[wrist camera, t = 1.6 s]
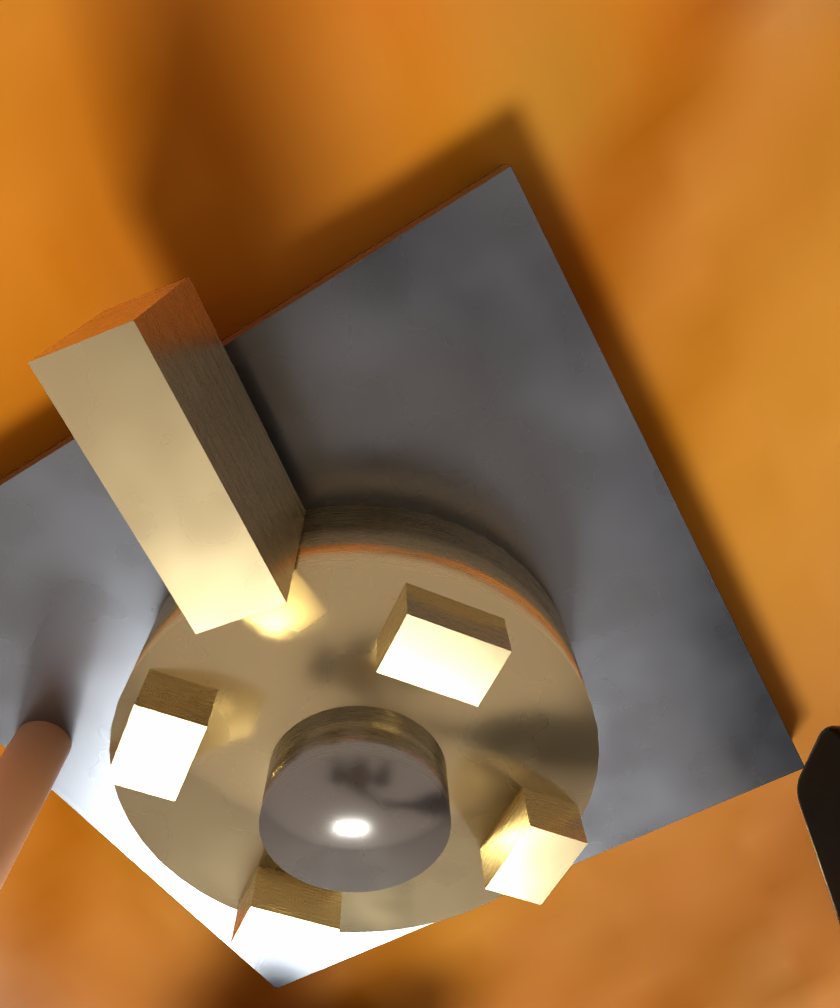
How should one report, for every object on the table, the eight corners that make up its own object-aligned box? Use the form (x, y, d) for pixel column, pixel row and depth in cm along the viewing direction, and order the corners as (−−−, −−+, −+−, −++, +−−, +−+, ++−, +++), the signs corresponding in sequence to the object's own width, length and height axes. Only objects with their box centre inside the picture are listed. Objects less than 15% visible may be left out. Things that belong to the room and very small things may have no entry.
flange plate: (504, 164, 17) (511, 166, 16) (790, 744, 25) (805, 767, 24) (-147, 571, 21) (-171, 592, 20) (279, 961, 29) (276, 988, 28)
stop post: (58, 689, 23) (-42, 863, 18) (94, 724, 24) (8, 902, 18) (17, 711, 23) (-93, 888, 18) (54, 745, 24) (-42, 926, 19)
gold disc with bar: (618, 779, 24) (666, 917, 20) (260, 884, 25) (235, 1033, 21) (409, 185, 16) (417, 208, 12) (-87, 386, 18) (-233, 468, 13)
